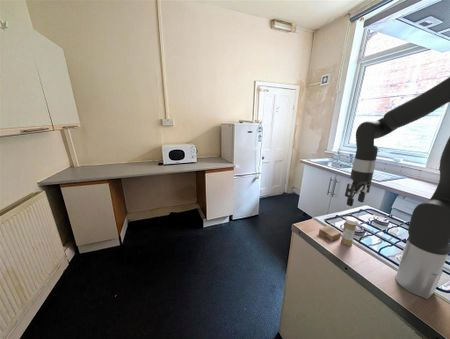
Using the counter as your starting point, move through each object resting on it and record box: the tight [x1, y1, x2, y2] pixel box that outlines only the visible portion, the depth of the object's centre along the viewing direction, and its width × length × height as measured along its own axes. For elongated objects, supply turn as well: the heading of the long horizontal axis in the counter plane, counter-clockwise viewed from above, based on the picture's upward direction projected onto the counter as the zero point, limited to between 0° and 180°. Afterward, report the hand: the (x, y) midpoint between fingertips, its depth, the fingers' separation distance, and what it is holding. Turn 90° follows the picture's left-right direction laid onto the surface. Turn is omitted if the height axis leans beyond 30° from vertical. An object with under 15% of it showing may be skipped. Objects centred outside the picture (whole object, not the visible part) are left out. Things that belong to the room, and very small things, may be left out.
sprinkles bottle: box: [341, 216, 358, 247], centre depth 85 cm, size 5×5×14 cm
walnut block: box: [318, 225, 342, 242], centre depth 92 cm, size 7×7×3 cm
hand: (355, 203), depth 81 cm, fingers open, 8 cm apart
